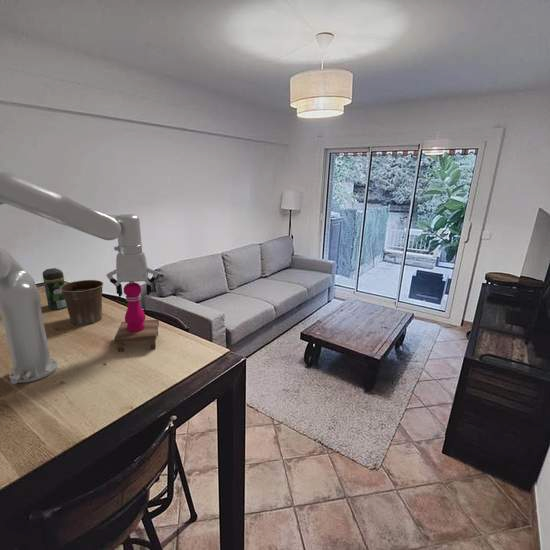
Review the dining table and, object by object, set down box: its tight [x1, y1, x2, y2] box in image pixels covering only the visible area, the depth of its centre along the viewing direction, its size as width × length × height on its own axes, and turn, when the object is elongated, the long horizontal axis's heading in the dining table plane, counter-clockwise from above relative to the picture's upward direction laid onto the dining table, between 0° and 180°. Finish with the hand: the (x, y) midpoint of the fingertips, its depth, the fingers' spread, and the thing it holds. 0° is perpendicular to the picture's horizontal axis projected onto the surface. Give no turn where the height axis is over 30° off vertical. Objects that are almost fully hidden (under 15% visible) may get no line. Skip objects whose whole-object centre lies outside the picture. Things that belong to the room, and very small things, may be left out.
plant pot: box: [60, 279, 104, 326], centre depth 140 cm, size 16×16×16 cm
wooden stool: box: [113, 319, 160, 353], centre depth 124 cm, size 14×14×6 cm
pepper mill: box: [123, 282, 146, 332], centre depth 120 cm, size 7×7×20 cm
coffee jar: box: [42, 267, 67, 310], centre depth 152 cm, size 10×8×19 cm
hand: (134, 294), depth 119 cm, fingers open, 9 cm apart
